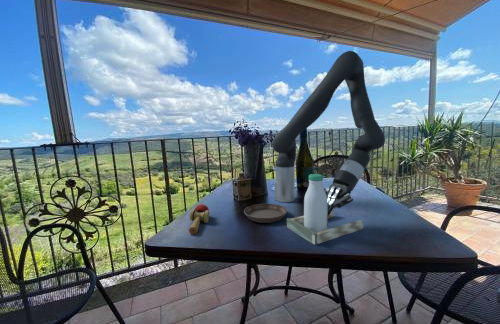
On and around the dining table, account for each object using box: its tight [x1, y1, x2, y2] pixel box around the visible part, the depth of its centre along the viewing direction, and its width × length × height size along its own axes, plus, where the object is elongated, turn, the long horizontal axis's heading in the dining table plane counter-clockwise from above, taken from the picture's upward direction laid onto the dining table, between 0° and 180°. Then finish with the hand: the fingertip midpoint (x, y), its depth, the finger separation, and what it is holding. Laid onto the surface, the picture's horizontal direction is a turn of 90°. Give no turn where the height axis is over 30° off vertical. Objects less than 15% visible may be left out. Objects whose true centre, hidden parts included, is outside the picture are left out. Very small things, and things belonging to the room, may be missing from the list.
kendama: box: [188, 203, 210, 235], centre depth 88 cm, size 8×6×18 cm
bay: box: [286, 208, 364, 246], centre depth 80 cm, size 22×14×4 cm, turn 117°
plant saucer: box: [243, 203, 288, 224], centre depth 94 cm, size 18×18×3 cm
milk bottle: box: [303, 173, 329, 233], centre depth 76 cm, size 8×8×20 cm
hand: (324, 214), depth 79 cm, fingers closed
